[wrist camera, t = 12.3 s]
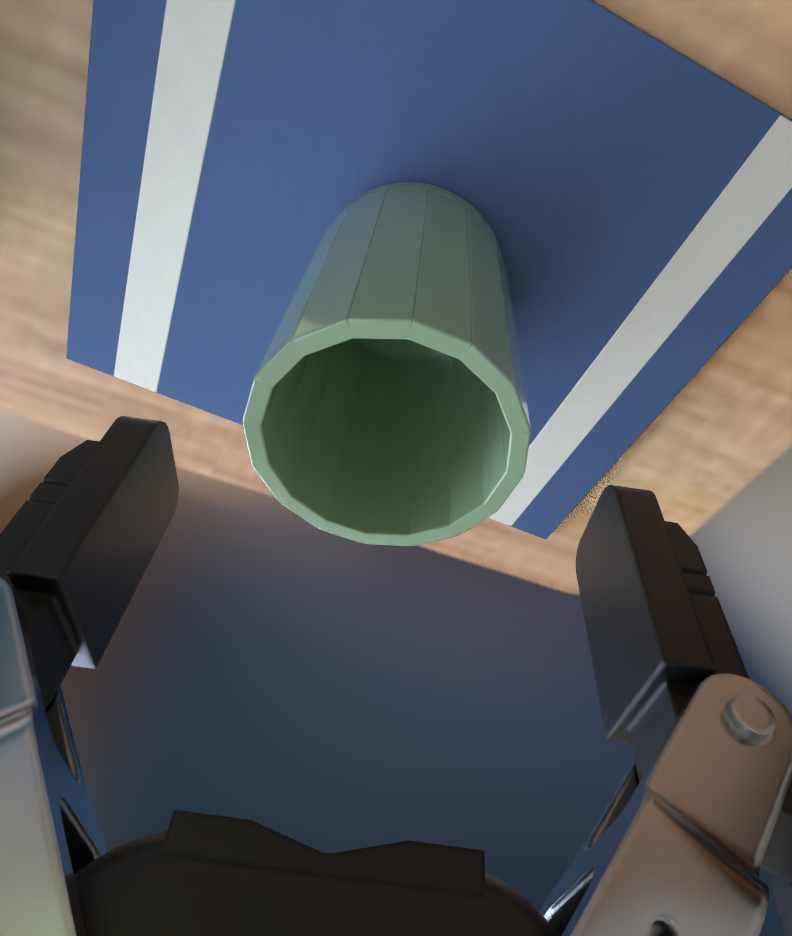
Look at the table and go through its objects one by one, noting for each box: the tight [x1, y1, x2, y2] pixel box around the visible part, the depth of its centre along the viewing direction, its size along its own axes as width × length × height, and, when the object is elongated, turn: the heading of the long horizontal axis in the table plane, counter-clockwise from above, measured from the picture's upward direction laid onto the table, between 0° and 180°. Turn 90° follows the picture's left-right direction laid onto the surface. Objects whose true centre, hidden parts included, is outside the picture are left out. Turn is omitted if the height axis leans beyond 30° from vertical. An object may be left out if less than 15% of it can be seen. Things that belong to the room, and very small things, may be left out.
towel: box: [66, 0, 792, 539], centre depth 19 cm, size 20×16×1 cm
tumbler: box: [243, 182, 531, 546], centre depth 16 cm, size 6×6×8 cm
